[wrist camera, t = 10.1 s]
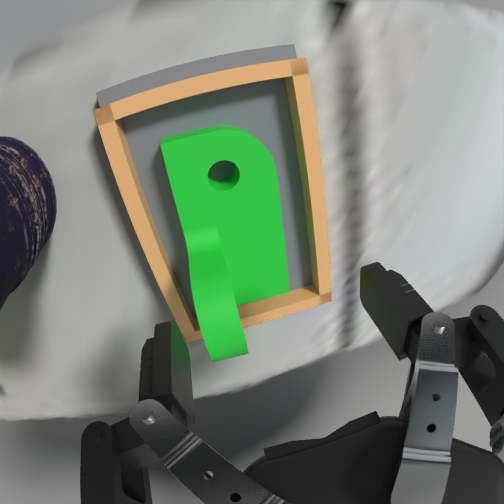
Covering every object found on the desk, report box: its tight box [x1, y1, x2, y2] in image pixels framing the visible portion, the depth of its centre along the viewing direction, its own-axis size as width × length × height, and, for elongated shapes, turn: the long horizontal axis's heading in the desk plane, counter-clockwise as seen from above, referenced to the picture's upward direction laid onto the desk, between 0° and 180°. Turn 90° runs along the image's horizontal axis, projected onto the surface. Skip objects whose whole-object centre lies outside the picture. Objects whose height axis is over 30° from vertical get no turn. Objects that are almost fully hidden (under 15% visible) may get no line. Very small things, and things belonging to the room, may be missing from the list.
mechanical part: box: [160, 125, 290, 362], centre depth 17 cm, size 12×6×8 cm, turn 9°
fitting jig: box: [93, 44, 332, 343], centre depth 20 cm, size 12×20×2 cm, turn 11°
